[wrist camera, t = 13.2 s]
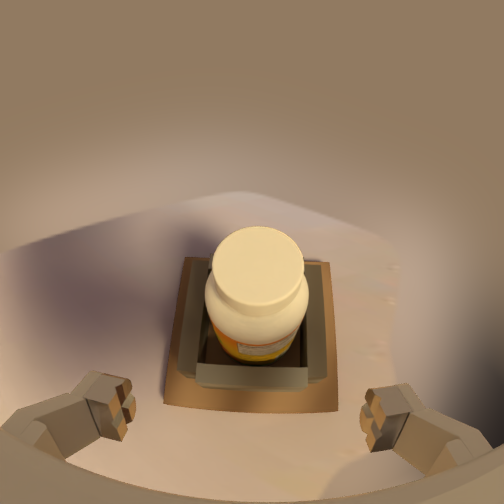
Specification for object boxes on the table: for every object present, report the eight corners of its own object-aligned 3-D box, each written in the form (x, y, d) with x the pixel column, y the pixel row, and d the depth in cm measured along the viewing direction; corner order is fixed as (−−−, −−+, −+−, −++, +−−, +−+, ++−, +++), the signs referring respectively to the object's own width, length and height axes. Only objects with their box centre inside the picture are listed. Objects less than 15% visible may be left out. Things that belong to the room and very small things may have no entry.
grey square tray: (167, 404, 18) (149, 399, 15) (187, 263, 25) (177, 235, 22) (334, 411, 18) (351, 408, 15) (326, 268, 25) (337, 241, 21)
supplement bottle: (216, 301, 22) (196, 217, 14) (287, 295, 22) (307, 210, 14) (219, 370, 19) (193, 325, 11) (297, 364, 19) (331, 314, 11)
